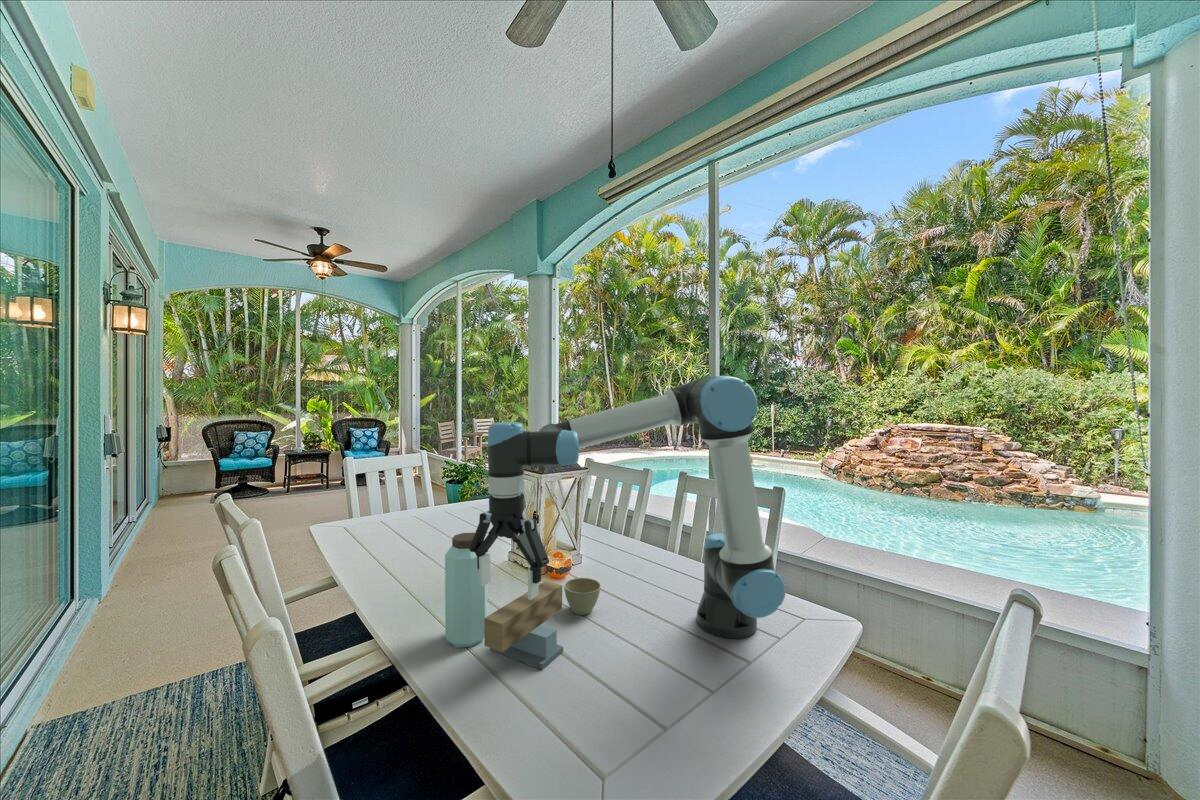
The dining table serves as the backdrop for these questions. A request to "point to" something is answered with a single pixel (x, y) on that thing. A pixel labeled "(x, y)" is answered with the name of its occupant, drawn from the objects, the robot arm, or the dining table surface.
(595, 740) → the dining table surface
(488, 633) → the walnut bar
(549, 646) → the ridge
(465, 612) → the water bottle
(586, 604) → the flower pot
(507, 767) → the dining table surface
